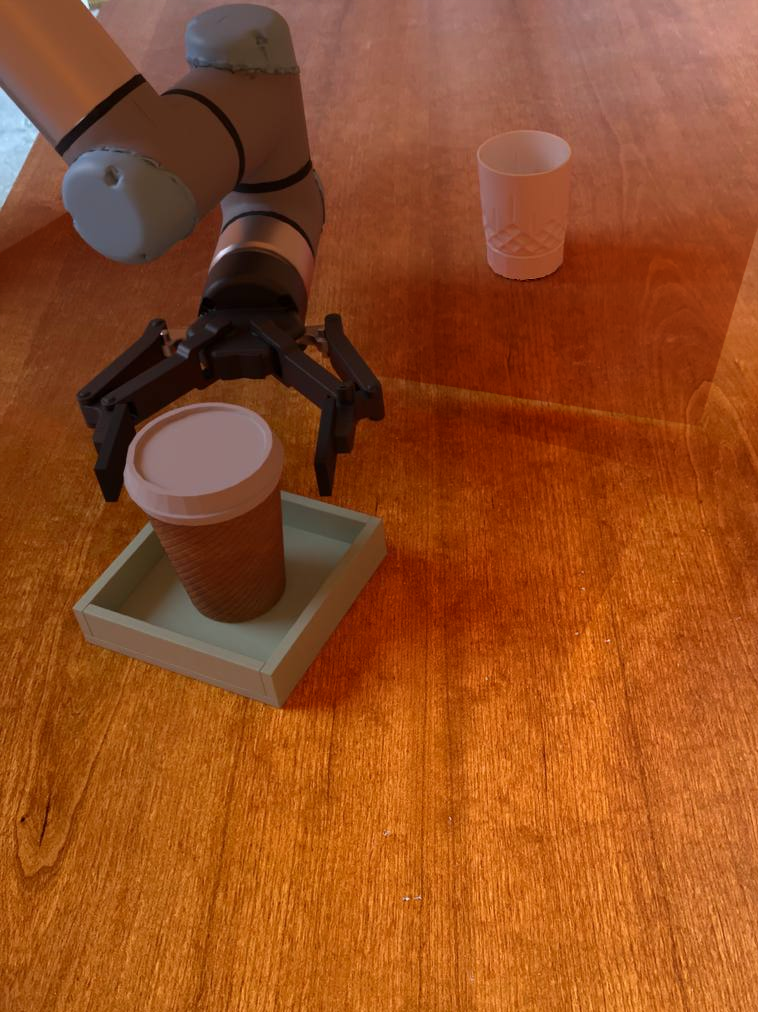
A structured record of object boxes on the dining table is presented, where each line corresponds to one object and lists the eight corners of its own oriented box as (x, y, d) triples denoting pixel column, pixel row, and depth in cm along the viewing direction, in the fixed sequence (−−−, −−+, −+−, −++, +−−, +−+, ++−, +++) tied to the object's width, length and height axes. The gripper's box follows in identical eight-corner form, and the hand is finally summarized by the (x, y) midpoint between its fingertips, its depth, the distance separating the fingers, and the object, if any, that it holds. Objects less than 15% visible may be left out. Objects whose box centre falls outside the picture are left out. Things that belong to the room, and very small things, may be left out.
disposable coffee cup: (136, 605, 78) (83, 465, 69) (233, 520, 83) (195, 379, 74) (245, 664, 74) (204, 524, 65) (339, 571, 79) (313, 429, 70)
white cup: (470, 278, 103) (464, 169, 96) (495, 232, 108) (492, 125, 101) (557, 290, 102) (558, 180, 94) (579, 243, 107) (582, 134, 99)
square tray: (86, 642, 77) (71, 607, 74) (208, 501, 85) (198, 466, 83) (280, 709, 73) (271, 675, 70) (387, 553, 81) (382, 518, 79)
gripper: (429, 330, 90) (418, 522, 76) (105, 340, 91) (35, 532, 77) (422, 240, 84) (409, 429, 70) (76, 252, 85) (-5, 441, 71)
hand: (213, 483), depth 73 cm, fingers open, 13 cm apart
